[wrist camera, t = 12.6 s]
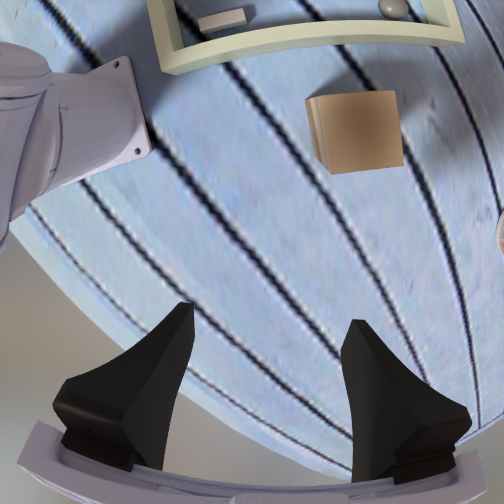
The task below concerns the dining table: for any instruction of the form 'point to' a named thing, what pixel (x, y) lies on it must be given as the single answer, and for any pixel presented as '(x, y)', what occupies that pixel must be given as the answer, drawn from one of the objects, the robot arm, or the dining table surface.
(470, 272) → the dining table surface
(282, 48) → the rectangular frame
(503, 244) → the pill bottle
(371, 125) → the maple block
